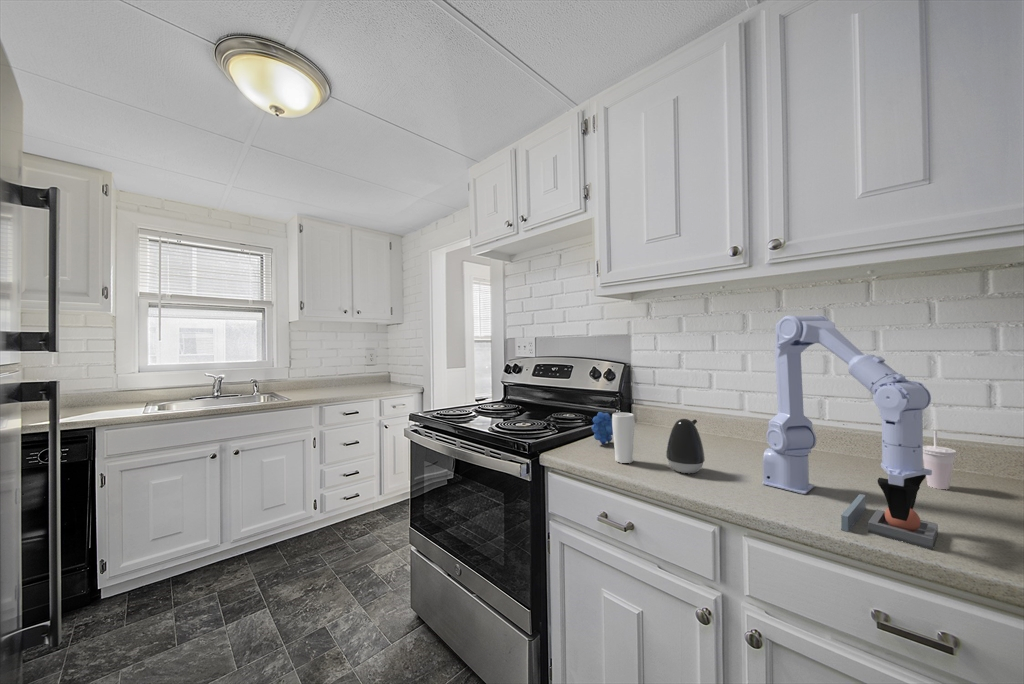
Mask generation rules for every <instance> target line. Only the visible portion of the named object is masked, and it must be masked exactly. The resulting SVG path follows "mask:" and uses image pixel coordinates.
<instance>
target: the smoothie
mask: <svg viewBox="0 0 1024 684" xmlns="http://www.w3.org/2000/svg"><path fill="white" fill-rule="evenodd" d="M956 456H958V454H957V450H955V449H953V448H950V447H949V448H948V447H945V446H938V431H937V430H933V445H923V468H924V469H929V470H932V475H926V477H925V479H926V483H927V487H929V486H930V487H929V488H932V487H933V488H932V489H935V488H937V489H936V490H941V489H946V490H945V491H947V489H949V490H950V485H951V479H952V473H953V470H954V469H953V468H954V463H955V457H956Z"/></svg>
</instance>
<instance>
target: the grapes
mask: <svg viewBox="0 0 1024 684" xmlns="http://www.w3.org/2000/svg"><path fill="white" fill-rule="evenodd" d="M596 414H597V415H595V416H593V418H592V423H593V424H592V425H591V431H592V433H593V437H594V439H595V440H597V441H599V442H600V443H601V445H605V444H606V443H607V442H608V443H610V442H611V441H612V440H613V430H612V418H611V415H610V413H608V412H605V413H604V412H602V411H598V413H596Z"/></svg>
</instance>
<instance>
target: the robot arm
mask: <svg viewBox="0 0 1024 684" xmlns="http://www.w3.org/2000/svg"><path fill="white" fill-rule="evenodd" d="M815 344H819V345H821V346H822V347H824V348H825V349H827V350H828V351H829V352H831V353H832V354H834V355H835V356H836V357H837V358H839V359H840V360H841V361H843V362H844V363H845V364H846V365H847V366H848V373H849V374H850V376H852V377H853V378H854V379H855V380H857V382H859V383H860V384H861V385H863V387H865V388H866V389H867V390H868V391H869V392H870V393H872V399H873V402H874V404H875V406H876V407H877V409H878V410H879V417H880V418H881V452H882V453H881V458H882V459H881V462H880V467H881V469H883V471H884V472H885V473H886V474H887V475H888V476H887V477H888V478H883V477H878V479H877V484H878V487H879V488H880V489H881V491H882V492H883V495H884V497H885V500H886V503H887V506H888V507H889V511H890V514H891V517H892V518H895V519H899V520H903V521H907V519H908V516H909V512H910V508H911V509H913V510H914V507H915V504H916V500H917V495H918V492H919V490H920V488H921V487H920V486H921V484H922V483H923V481H924V479H926V475H932V470H929V469H925V468H924V462H923V446H924V440H923V438H924V436H923V435H924V433H923V432H924V431H923V429H924V423H923V422H924V420H923V417H924V415H923V411H924V410H925V409H927V408H928V407H929V406H930V405H931V401H932V396H931V392H930V391H929V389H928V388H927V387H926V386H925V385H924V384H923V382H919V381H917V380H910V379H909V380H908V379H907V378H906V376H905V375H903V374H902V373H898V372H897V371H896V370H895V369H893V368H892V367H891V366H889V365H888V364H887V363H885V361H886V360H885V358H883V357H882V356H877V355H875V354H864V353H863V352H862V351H861V350H860V349H859V348H857V347H856V345H854V344H853V343H852V342H851V341H850V340H849V339H847V337H845V336H844V335H843V333H841V332H840V331H839V330H838V329H837V328H836V323H835V322H833V321H831V320H830V319H828V317H826V316H825V315H821V314H816V315H786V316H784V317H782V318H780V320H779V321H778V322H777V323H776V324H775V343H774V359H775V360H774V361H775V381H776V382H775V383H776V402H777V403H776V405H777V414H775V415H774V417H772V418H771V419H770V420H768V427H767V428H768V429H767V431H766V434H765V435H766V438H765V439H766V442H767V444H768V446H769V447H770V448H769V447H767V448H766V449H765V450H764V452H763V456H762V477H763V479H762V482H761V483H762V485H765V486H769V487H774V488H778V489H781V490H786V491H790V492H793V493H798V494H802V495H806V494H807V493H809V492H811V490H812V489H814V488H815V484H813V483H810V478H809V477H810V472H809V471H810V470H809V466H810V465H809V463H810V462H809V460H810V459H809V454H811V453H812V449H814V448H815V446H816V444H817V441H818V440H817V435H816V434H815V431H814V427H813V421H811V420H810V419H809V418H808V417H806V416H805V414H804V413H805V412H804V410H805V409H804V397H803V396H804V393H803V391H804V390H803V373H802V372H803V371H802V353H803V352H804V351H805V350H806V349H807V348H809V347H810V346H812V345H815ZM888 507H887V508H888Z"/></svg>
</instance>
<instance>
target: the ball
mask: <svg viewBox="0 0 1024 684" xmlns="http://www.w3.org/2000/svg"><path fill="white" fill-rule="evenodd" d="M885 519H886V521H887V522H888V524H889V525H890V526H893V527H897V528H900V529H904V530H908V531H912V532H914V531H916V530H917V529H918V528H919V527H920V520H921V518H920V515H918V513H917V512H916V511H915V510H914V508H913V509H911V508H910V512H909V516H908V519H907V521H903V520H899V519H895V518H892V517H891V514H890V511H889V507H887V508H886V509H885Z"/></svg>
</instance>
